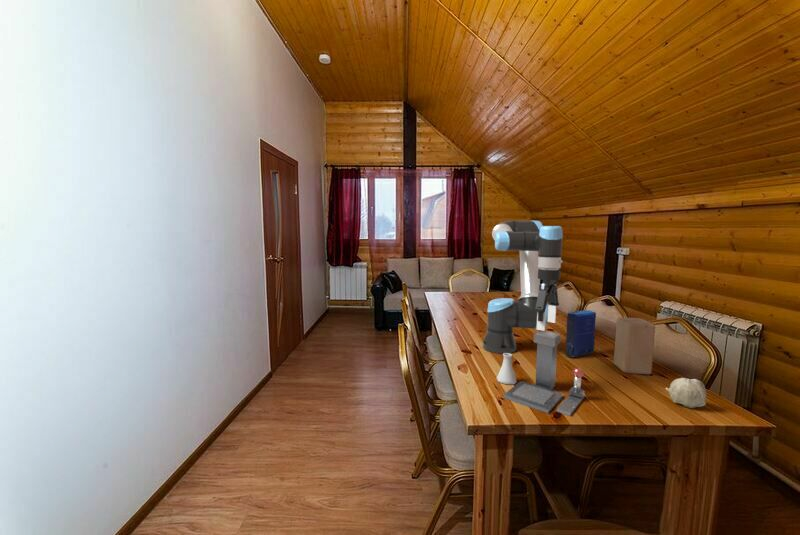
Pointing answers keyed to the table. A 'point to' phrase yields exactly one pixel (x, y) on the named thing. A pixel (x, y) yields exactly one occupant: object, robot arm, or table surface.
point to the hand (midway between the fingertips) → (546, 326)
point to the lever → (577, 383)
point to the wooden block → (634, 345)
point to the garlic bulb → (688, 392)
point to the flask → (506, 371)
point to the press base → (544, 380)
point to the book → (580, 333)
